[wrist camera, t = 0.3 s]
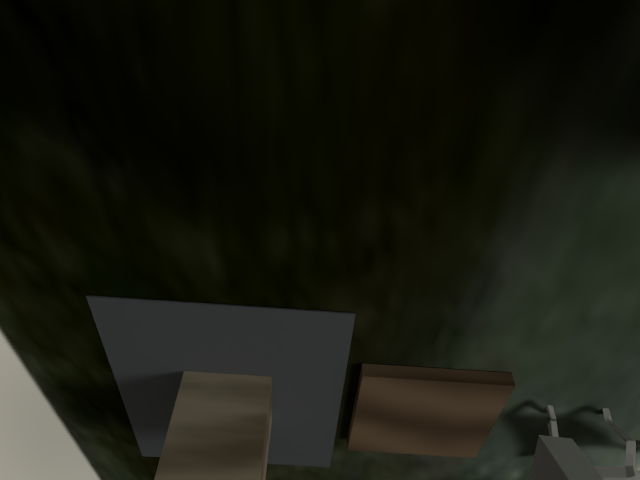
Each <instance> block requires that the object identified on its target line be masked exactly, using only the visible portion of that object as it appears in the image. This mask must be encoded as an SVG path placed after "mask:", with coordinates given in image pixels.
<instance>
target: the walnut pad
mask: <svg viewBox="0 0 640 480" xmlns="http://www.w3.org/2000/svg"><path fill="white" fill-rule="evenodd" d="M514 387H515V383H514V380H513V377H512V373H505V372H489V371H474V370H458V369H442V368H427V367H411V366H396V365H380V364H364V363H362V367H361V372H360V377H359V382H358V387H357V392H356V397H355V402H354V407H353V412H352V417H351V422H350V427H349V432H348V437H347V450H353V451H369V452H386V453H402V454H419V455H435V456H452V457H468V458H475V457H476V455H477V453H478V451H479V450H480V448H481V446H482V444H483V442H484V441H485V439H486V437H487V435H488V434H489V432H490V430H491V428H492V426H493V425H494V423H495V421H496V419H497V418H498V416H499V414H500V412H501V410H502V409H503V407H504V405H505V403H506V402H507V400H508V398H509V396H510V394H511V393H512V391H513V389H514Z"/></svg>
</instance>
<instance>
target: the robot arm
mask: <svg viewBox="0 0 640 480" xmlns="http://www.w3.org/2000/svg"><path fill="white" fill-rule="evenodd" d="M529 480H604V479H603V478H602V477H601V475H600V474H599V473H598V471H597V470H596V469H595V468H594V466H593V465H592V464H591V462H590V461H589V460H588V458H587V457H586V456H585V455H584V453H583V452H582V451H581V449H580V448H579V447H578V446H577V444H576V443H575V442H574V440H573V439H571V438H562V437H553V436H544V435H539V437H538V441H537V446H536V451H535V455H534V460H533V465H532V469H531V474H530V479H529Z"/></svg>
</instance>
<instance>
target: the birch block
mask: <svg viewBox="0 0 640 480" xmlns="http://www.w3.org/2000/svg"><path fill="white" fill-rule="evenodd" d="M271 423H272V377H271V376H255V375H240V374H224V373H208V372H192V371H184V373H183V377H182V380H181V384H180V388H179V391H178V395H177V398H176V402H175V406H174V409H173V413H172V417H171V420H170V424H169V428H168V431H167V435H166V439H165V442H164V446H163V450H162V453H161V457H160V461H159V464H158V468H157V472H156V475H155V479H154V480H265V477H266V468H267V459H268V450H269V441H270V432H271Z"/></svg>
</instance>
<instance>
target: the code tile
mask: <svg viewBox="0 0 640 480" xmlns="http://www.w3.org/2000/svg"><path fill="white" fill-rule="evenodd" d="M86 298H87V301H88V303H89V306H90V309H91V312H92V315H93V318H94V320H95V323H96V326H97V329H98V332H99V335H100V337H101V340H102V343H103V346H104V349H105V352H106V354H107V357H108V360H109V363H110V366H111V369H112V372H113V374H114V377H115V380H116V383H117V386H118V389H119V391H120V394H121V397H122V400H123V403H124V406H125V408H126V411H127V414H128V417H129V420H130V423H131V425H132V428H133V431H134V434H135V437H136V440H137V443H138V445H139V448H140V451H141V454H142V456H150V457H161V453H162V450H163V446H164V442H165V439H166V435H167V431H168V428H169V424H170V420H171V417H172V413H173V409H174V406H175V402H176V398H177V395H178V391H179V388H180V384H181V380H182V377H183V373H184V371H192V372H208V373H224V374H240V375H255V376H271V377H272V423H271V432H270V441H269V450H268V459H267V464H283V465H300V466H317V467H330V464H331V458H332V452H333V446H334V440H335V434H336V428H337V422H338V416H339V410H340V404H341V398H342V392H343V386H344V380H345V374H346V368H347V362H348V356H349V350H350V344H351V338H352V332H353V326H354V320H355V314H356V313H349V312H334V311H319V310H304V309H288V308H273V307H258V306H243V305H227V304H212V303H197V302H182V301H167V300H151V299H136V298H121V297H106V296H91V295H87V296H86Z"/></svg>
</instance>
